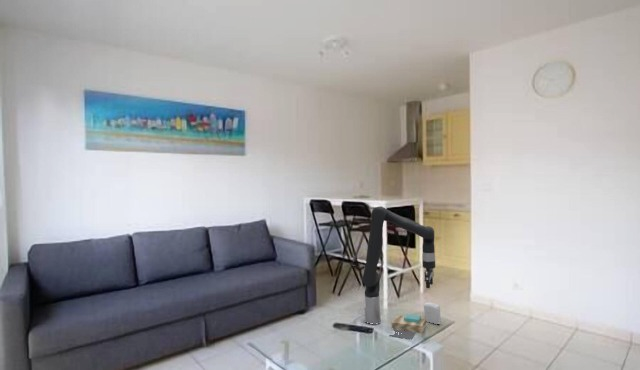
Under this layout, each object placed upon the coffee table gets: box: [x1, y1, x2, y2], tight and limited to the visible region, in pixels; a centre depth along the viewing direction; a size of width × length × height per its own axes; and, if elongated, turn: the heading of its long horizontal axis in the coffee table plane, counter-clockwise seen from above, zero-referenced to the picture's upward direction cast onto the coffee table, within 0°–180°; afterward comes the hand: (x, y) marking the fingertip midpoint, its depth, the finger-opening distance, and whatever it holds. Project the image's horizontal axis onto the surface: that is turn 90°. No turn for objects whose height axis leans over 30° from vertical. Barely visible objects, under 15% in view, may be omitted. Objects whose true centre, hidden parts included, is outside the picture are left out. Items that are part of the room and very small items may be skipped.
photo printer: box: [423, 301, 442, 325], centre depth 222 cm, size 10×4×12 cm, turn 39°
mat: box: [388, 329, 417, 341], centre depth 207 cm, size 13×10×1 cm
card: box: [404, 314, 422, 323], centre depth 217 cm, size 9×6×2 cm, turn 62°
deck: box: [391, 314, 427, 334], centre depth 217 cm, size 18×12×4 cm, turn 62°
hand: (429, 286), depth 215 cm, fingers open, 8 cm apart
